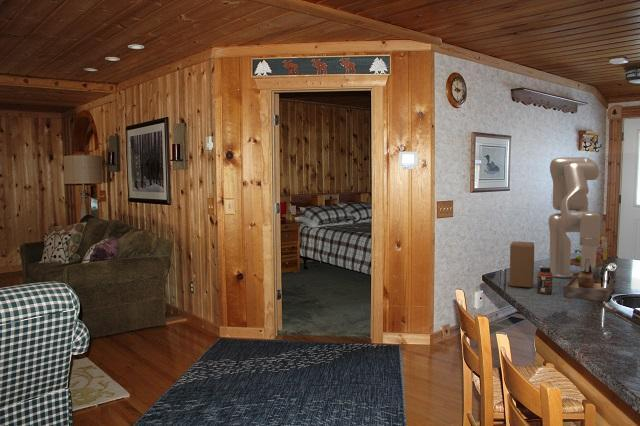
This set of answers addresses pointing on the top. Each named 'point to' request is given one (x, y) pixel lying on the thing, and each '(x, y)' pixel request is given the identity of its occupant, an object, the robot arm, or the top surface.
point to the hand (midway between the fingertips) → (588, 284)
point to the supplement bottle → (544, 281)
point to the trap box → (588, 290)
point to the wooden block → (522, 264)
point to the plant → (578, 261)
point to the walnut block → (585, 280)
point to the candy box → (602, 249)
